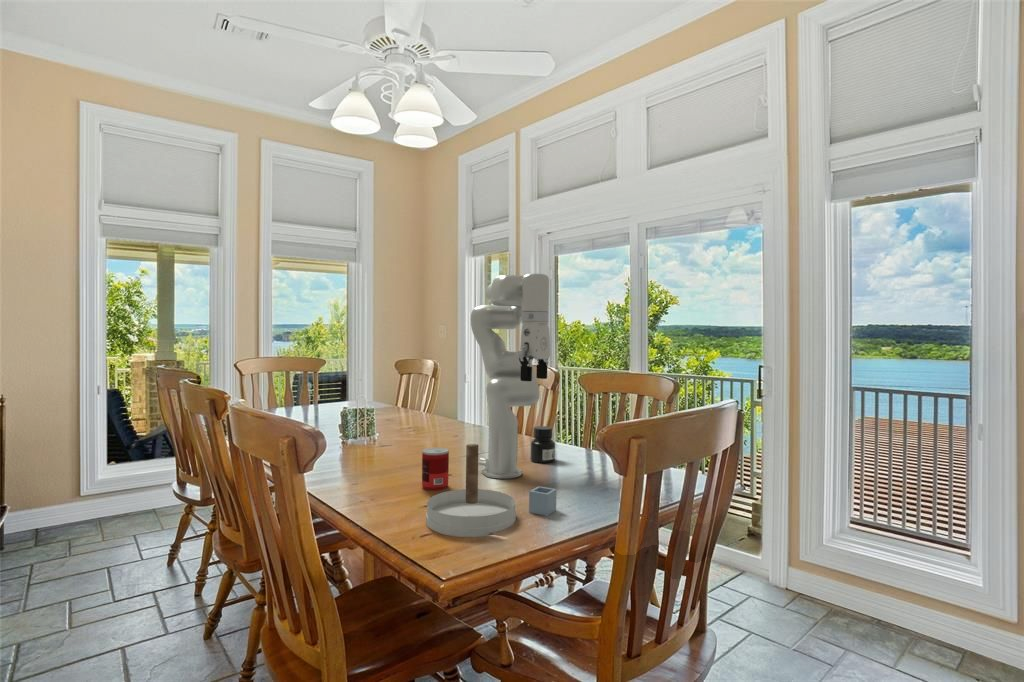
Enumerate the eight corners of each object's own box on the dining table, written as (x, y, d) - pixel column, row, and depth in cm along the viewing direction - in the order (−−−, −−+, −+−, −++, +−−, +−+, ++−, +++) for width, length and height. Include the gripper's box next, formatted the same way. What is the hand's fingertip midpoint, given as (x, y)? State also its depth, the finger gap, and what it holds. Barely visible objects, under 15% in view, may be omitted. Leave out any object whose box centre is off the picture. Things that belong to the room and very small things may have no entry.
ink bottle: (549, 465, 192) (549, 431, 192) (526, 462, 196) (526, 428, 196) (558, 459, 201) (559, 426, 201) (536, 456, 205) (537, 424, 205)
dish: (440, 544, 121) (440, 521, 121) (416, 513, 141) (416, 493, 141) (531, 530, 130) (531, 509, 129) (496, 503, 150) (496, 485, 150)
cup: (529, 514, 140) (529, 491, 140) (538, 508, 144) (538, 486, 144) (547, 518, 137) (547, 494, 137) (556, 512, 142) (556, 489, 142)
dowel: (463, 502, 134) (463, 445, 134) (469, 499, 137) (470, 443, 137) (473, 504, 133) (474, 447, 133) (480, 501, 136) (480, 444, 135)
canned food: (453, 485, 166) (453, 448, 165) (438, 492, 158) (439, 454, 158) (431, 481, 169) (432, 446, 169) (416, 488, 162) (417, 451, 161)
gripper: (533, 317, 143) (532, 382, 144) (560, 319, 158) (559, 378, 159) (508, 317, 147) (507, 381, 147) (536, 319, 162) (535, 377, 162)
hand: (534, 379), depth 153 cm, fingers open, 9 cm apart
